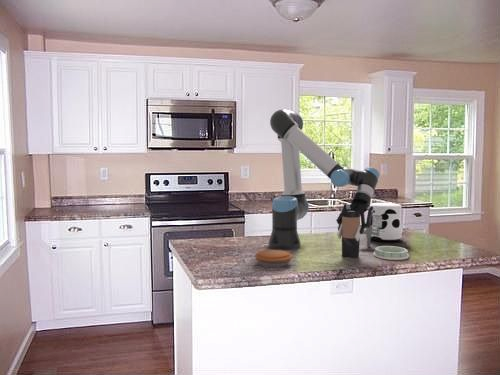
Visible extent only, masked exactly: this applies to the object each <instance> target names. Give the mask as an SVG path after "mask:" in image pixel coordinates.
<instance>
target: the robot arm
mask: <svg viewBox="0 0 500 375" xmlns="http://www.w3.org/2000/svg"><path fill="white" fill-rule="evenodd" d="M269 123H270V124H269V125H270V128H271V130H272V131H273V132H274V133H275V134H276V135H277V140H278V141H279V142H280V146H281V157H282V158H281V159H282V173H283V188H284V191H282V193H281V196H277V197H275V198H273V200H272V206H271V209H272V212H271V213H272V215H271V217H272V218H271V219H272V221H271V222H272V224H271V225H272V227H271V228H272V230H271V233H270V236H269V239H268V247H269V249H272V250H283V251H288V250H290V251H291V250H298V249H300V248H301V240H300V235H299V233H298V221H299V220H301V219H303V218H304V217H306V215H307V214H308V212H309V208H310V207H309V202H308V200H307V199H306V192H305V191H304V190H303V188H302V177H301V176H302V175H301V173H302V172H301V160H300V159H301V157H300V153H301V154H302V155H303V156H305V158H306V159H308V161H310V162H311V163H312V164H313V165H314V166H315V167H316V168H317V169H319V170H320V172H322V173H323V174H324V175H326V176H327V177H328V179H329V180H330V182H331V184H332V185H333V186H335V187H339V188H343V187H346V186H348V185H349V186H353V187H357V188H356V191H355V193H354V196H353V199H352V201H351V203H350V204H346V203H345V204H343V208H342V210H341V211H340V213H339V215H338V216H337V218H336V223H337V224H338V227H337V231H338V232H337V233H336V236H337V238H338V240H340V239H341V240H342V211H343V210H346V209H353V210H359V211H360V225H359V228H358V230H357V233H356V236H355V239H356V241H359V238H360V237H361V236H362V235H364V234H363V232H364V230H366V228H367V227H368V228H370V225H371V219H372V214H373V212H374V208H373V207H372V206H371V207H370V204H371V201H372V199H373V195H374V192H375V190H376V188H377V184H378V182H379V177H380V172H379V170H378V169H377V168H375V167H371V166H370V167H366V168H365V169H363V170H359V169H355V168H349V167H347V166H342V165H341V164H339V163H338V162H337V161H336V160H335V159H334V158H333V157H332V156H330V154H328V153H327V151H325V150H324V149H323V148H322V147H321V146H319V145H318V144H317V143H316V142H315V141H313V139H312V138H311V137H310V136H308V135H307V133H305V132H304V131H302V130H303V126H304V120H303V117H302V116H301V115H300V114H299V113H297V112H296V111H294V110H287V109H278V110H276V111H275V112H274V113H273V114H272V115H271V117H270V119H269ZM366 212H367V216H366V220H365V213H366ZM361 225H362V226H361ZM360 239H361V238H360Z"/></svg>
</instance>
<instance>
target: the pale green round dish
mask: <svg viewBox="0 0 500 375" xmlns="http://www.w3.org/2000/svg"><path fill="white" fill-rule="evenodd" d="M372 255H373V257H375V258H379V259H382V260H392V261H402V260H407V259H409V258H410V254H409V251H408V249H406V248H405V247H401V246H394V245H379V246H376V247H375V248H374V251H373V253H372Z"/></svg>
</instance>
